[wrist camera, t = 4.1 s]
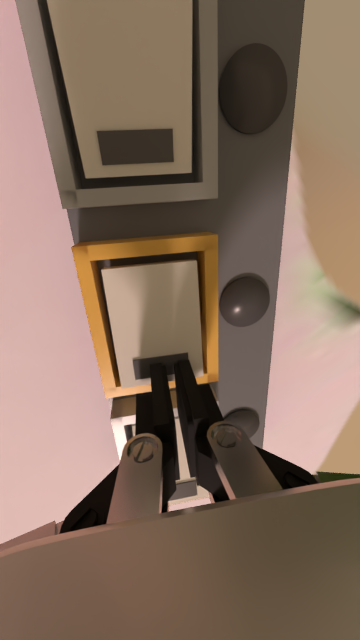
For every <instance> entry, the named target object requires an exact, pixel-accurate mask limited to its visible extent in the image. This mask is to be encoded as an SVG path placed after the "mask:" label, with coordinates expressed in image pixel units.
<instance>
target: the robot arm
mask: <svg viewBox="0 0 360 640" xmlns="http://www.w3.org/2000/svg"><path fill="white" fill-rule="evenodd" d="M174 373H175V386H176V399H177V410H178V417H179V422H180V427H181V432H182V437H183V442H184V448H185V453H186V458H187V463H188V468H189V473H190V478H193V477H195V478H196V483H197V486H201V487H202V488H204V489H206V490H207V491H208V493H209V498H210V501H211V504H206V505H201V506H196V507H190V508H185V509H180V510H175V511H170V512H169V499H170V498H171V497H172V495H173V494H174V493H175V491H176V480H180V470H179V459H178V447H177V435H176V424H175V417H174V411H173V406H172V400H171V394H170V388H169V383H168V377H167V371H166V366H165V365H164V366H161V363H156V364H150V376H151V390H152V392H144V393H137V394H136V424H135V436H134V437H132V438H131V439H130V440H128V441H127V443H126V444H125V445H124V448H123V451H122V455H121V460H120V464H119V465H118V466H117V467H116V468H115V469H114V470H113V471H112V472H111V473H110V474H109V475H108V476H107V477H106V478H105V479H103V480H102V481H101V482H100V483H99V484H98V485H97V486H96V487H95V488H94V489H93V490H92V491H91V492H90V493H89V494H88V495H87V496H86V497H85V498H84V499H83V500H82V501H81V502H80V503H79V504H78V505H77V506H76V507H75V508H74V509H73V510H72V511H71V512H70V513H69V514H68V515H67V517H66V518H65V520H64V521H62V522H59V523H57V524H56V522H55V521H53V522H51V523H48V524H46V525H44V526H41V527H39V528H37V529H34V530H32V531H30V532H28V533H25V534H23V535H21V536H18V537H16V538H14V539H11V540H9V541H7V542H5V543H2V544H0V640H360V474H345V473H329V472H316V475H311V474H310V473H309V472H308V471H306V470H304V469H303V468H301V467H299V466H297V465H295V464H293V463H290V462H288V461H286V460H284V459H282V458H280V457H278V456H276V455H274V454H272V453H270V452H267V451H265V450H263V449H261V448H259V447H257V446H255V445H253V443H252V442H251V440H250V439H249V437H248V436H247V434H246V433H245V431H244V430H243V429H242V428H241V427H240V426H239V425H237V424H236V423H233V422H230V421H224V419H223V416H222V414H221V411H220V409H219V406H218V404H217V402H216V399H215V397H214V394H213V392H212V390H211V387H210V385H209V384H202V385H198V384H197V381H196V378H195V376H194V373H193V370H192V367H191V364H190V361H189V359H188V360H180V361H178V364H174Z"/></svg>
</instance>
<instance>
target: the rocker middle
mask: <svg viewBox="0 0 360 640" xmlns="http://www.w3.org/2000/svg"><path fill="white" fill-rule="evenodd" d="M101 272H102V277H103V283H104V289H105V295H106V301H107V306H108V312H109V318H110V324H111V330H112V336H113V341H114V347H115V353H116V359H117V365H118V370H119V376H120V382H121V388H129V387H136V386H142V385H149V384H151V376H150V364H156V363H161V366H164V365H165V366H166V371H167V377H168V381H175V373H174V364H178V361H180V360H188V359H189V361H190V364H191V367H192V370H193V373H194V376H195V377H201V376H204V374H203V357H202V340H201V323H200V305H199V288H198V271H197V260H194V259H187V260H176V261H166V262H155V263H145V264H134V265H124V266H113V267H104V268H103V269H102V270H101Z"/></svg>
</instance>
